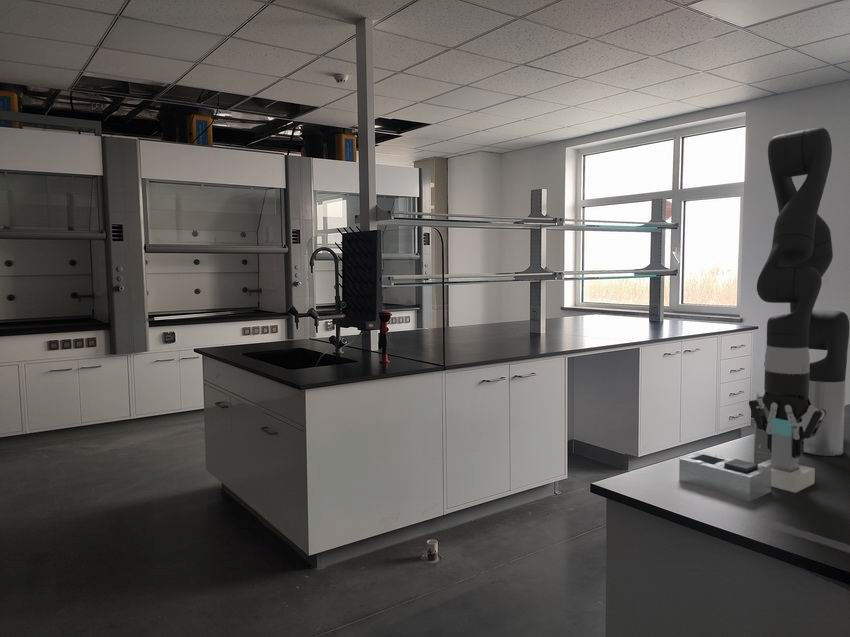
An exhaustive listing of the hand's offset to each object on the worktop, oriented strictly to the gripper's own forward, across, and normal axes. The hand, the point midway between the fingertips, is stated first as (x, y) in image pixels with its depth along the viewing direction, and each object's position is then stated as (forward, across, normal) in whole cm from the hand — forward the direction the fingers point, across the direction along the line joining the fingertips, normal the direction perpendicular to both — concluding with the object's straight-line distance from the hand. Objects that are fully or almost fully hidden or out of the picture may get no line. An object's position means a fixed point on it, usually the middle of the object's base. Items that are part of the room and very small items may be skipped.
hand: (784, 454), depth 118 cm
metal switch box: (+6, +6, +11) cm, 14 cm away
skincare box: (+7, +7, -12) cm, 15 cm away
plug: (+4, 0, 0) cm, 4 cm away
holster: (+7, 0, 0) cm, 7 cm away
